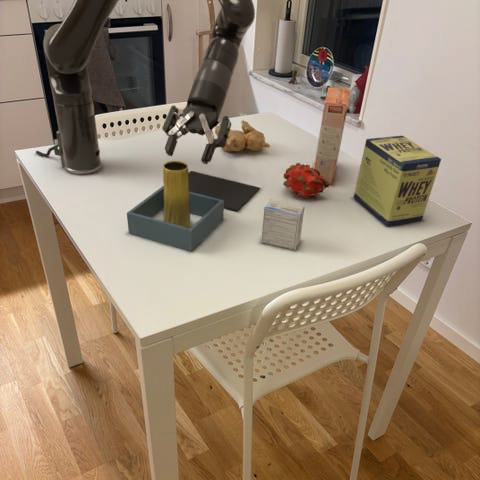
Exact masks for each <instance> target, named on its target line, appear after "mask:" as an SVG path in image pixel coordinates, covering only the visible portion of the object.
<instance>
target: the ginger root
mask: <svg viewBox="0 0 480 480" xmlns="http://www.w3.org/2000/svg"><path fill="white" fill-rule="evenodd" d="M240 123H241V130H237V129H231V128H230V131H229V135H228V138H227V142H226V145H225V147H224V148H221V149H222V150H223V151H226V152H230V153H231V152H240V151H242V150H250V151H252V152H258V151H261V150H262V149H263V148H266V149H267V148H270V146H271V145H270V144H269V143H267V142H266V137H265V134H264V133H263V132H262V131H259V130H257V129H255V128H254V127H253V126H251V124H249V122H248V121H246V120H241V121H240ZM219 130H220V126H219V125H217V126H215V127H214V135H216V136H217V137H218V134H219Z"/></svg>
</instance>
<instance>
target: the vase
mask: <svg viewBox="0 0 480 480" xmlns="http://www.w3.org/2000/svg"><path fill="white" fill-rule="evenodd" d="M188 173H189V165H188V164H187V162H185V161H181V160H170V161H166V162H164V163H163V165H162V176H163V178H162V180H163V186H164V208H163V221H165V222H168V223H172V224H175V225H179V226H183V227H186V228H191V227H192V224H191V223H192V222H191V213H190V206H189V184H188Z"/></svg>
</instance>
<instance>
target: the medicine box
mask: <svg viewBox="0 0 480 480" xmlns="http://www.w3.org/2000/svg"><path fill="white" fill-rule="evenodd" d="M304 215H305V206H304V205H300V204H295V203H290V202H285V201H281V200H275V199H269V200H268V202H267V203H266V204H265V206H264V207H263V214H262V226H261V237H260V238H261V239H260V243H261V244H266V245H272V246H274V247H275V246H276V247H280V248H284V249H290V250H293V251H296V249H297V247H298V246H299V243H300V241H301V236H302V228H303V223H304V222H303V221H304Z"/></svg>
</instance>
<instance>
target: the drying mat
mask: <svg viewBox="0 0 480 480" xmlns="http://www.w3.org/2000/svg"><path fill="white" fill-rule="evenodd" d="M188 184H189V192H193V193H197V194H201V195H205V196H209V197H212V198H216V199H220V200H224V209H225V210H229V211H233V212H237V213H238V212H239V211H240V210H241V209H242V208H243V207H244V206H245V205H246V204H247V203H248V202H249V201H250V200H251V199H252V198H253V196H255V195H256V193H258V192H259V190H260V187H259V186H255V185H251V184H247V183H244V182H243V183H242V182H238V181H235V180H230V179H226V178H222V177H218V176H214V175H210V174H207V173H201V172H198V171H193V170H190V171H188Z"/></svg>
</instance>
